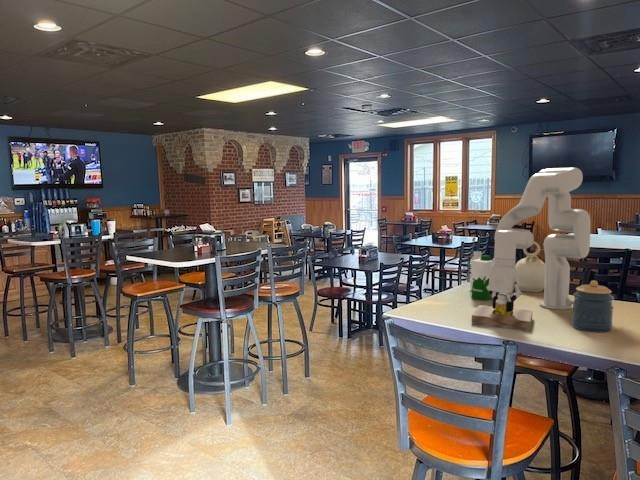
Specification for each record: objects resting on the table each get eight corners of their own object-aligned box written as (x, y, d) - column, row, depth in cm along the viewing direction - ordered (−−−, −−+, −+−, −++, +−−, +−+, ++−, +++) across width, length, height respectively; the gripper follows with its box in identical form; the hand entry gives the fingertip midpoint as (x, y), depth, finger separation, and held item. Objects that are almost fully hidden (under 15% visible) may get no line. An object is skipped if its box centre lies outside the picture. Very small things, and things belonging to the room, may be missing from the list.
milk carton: (495, 298, 222) (496, 256, 220) (485, 301, 216) (487, 257, 214) (478, 295, 228) (479, 254, 226) (468, 298, 222) (469, 256, 220)
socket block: (532, 319, 185) (532, 310, 185) (529, 331, 169) (529, 321, 169) (478, 313, 194) (479, 305, 194) (471, 324, 178) (471, 315, 178)
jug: (544, 294, 231) (546, 243, 229) (510, 290, 240) (512, 241, 237) (548, 288, 244) (550, 240, 242) (516, 285, 252) (518, 239, 250)
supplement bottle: (513, 320, 180) (514, 295, 179) (501, 321, 178) (502, 296, 177) (503, 316, 185) (504, 292, 184) (492, 317, 183) (492, 293, 182)
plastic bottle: (484, 292, 236) (485, 252, 234) (470, 291, 237) (471, 252, 235) (482, 289, 242) (483, 250, 240) (468, 289, 243) (469, 250, 241)
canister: (573, 330, 170) (576, 282, 168) (569, 321, 182) (571, 276, 180) (615, 334, 165) (618, 284, 163) (608, 325, 177) (611, 278, 175)
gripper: (479, 260, 185) (478, 306, 186) (518, 266, 170) (516, 316, 172) (492, 259, 188) (490, 304, 190) (531, 264, 174) (528, 313, 176)
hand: (502, 309), depth 181 cm, fingers closed on supplement bottle, 5 cm apart
